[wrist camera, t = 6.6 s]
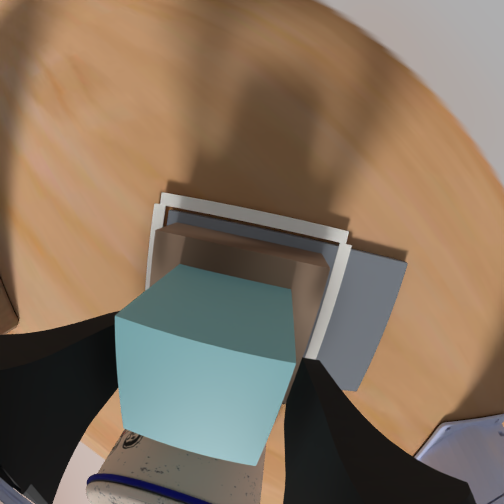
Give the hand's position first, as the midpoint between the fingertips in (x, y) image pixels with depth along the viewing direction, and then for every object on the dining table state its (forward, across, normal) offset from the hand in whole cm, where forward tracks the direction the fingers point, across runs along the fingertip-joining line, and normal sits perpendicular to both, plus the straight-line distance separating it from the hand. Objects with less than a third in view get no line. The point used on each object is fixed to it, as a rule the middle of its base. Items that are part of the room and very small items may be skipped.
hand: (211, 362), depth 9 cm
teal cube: (+2, 0, 0) cm, 3 cm away
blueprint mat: (+5, -2, 0) cm, 6 cm away
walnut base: (+5, 0, 0) cm, 5 cm away
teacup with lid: (+6, +1, +11) cm, 12 cm away
